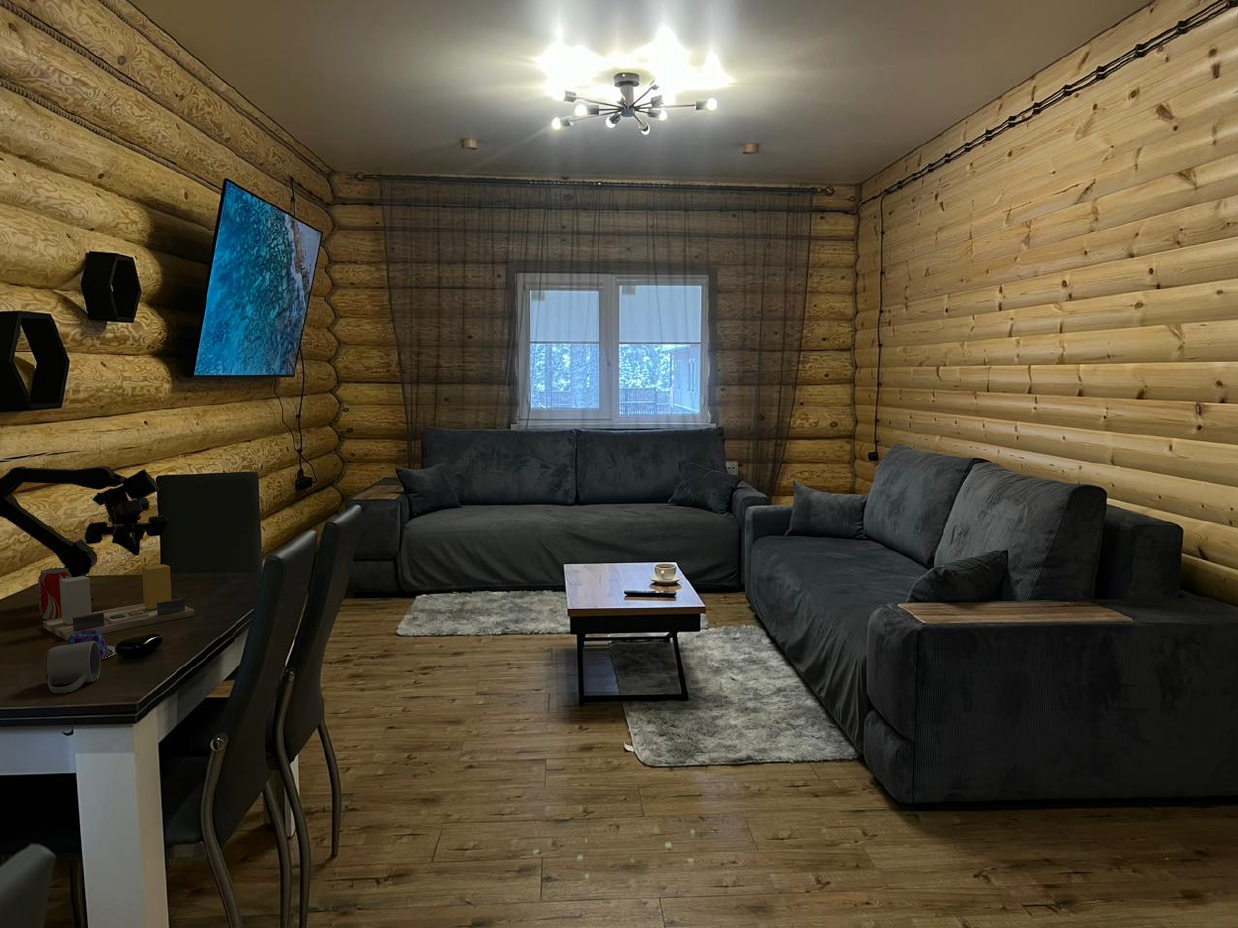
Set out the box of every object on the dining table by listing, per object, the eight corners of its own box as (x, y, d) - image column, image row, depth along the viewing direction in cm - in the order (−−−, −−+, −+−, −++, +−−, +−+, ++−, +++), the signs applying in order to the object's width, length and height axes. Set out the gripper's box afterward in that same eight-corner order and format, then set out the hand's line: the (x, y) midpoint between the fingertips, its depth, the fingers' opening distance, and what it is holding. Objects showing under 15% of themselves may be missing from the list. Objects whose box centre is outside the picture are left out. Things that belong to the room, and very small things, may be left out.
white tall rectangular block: (61, 621, 203) (59, 579, 202) (85, 617, 206) (83, 575, 205) (67, 624, 200) (65, 581, 199) (91, 620, 204) (89, 578, 203)
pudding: (55, 670, 174) (53, 645, 174) (50, 655, 184) (49, 631, 183) (123, 659, 181) (121, 634, 181) (115, 645, 191) (114, 622, 190)
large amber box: (144, 606, 216) (142, 567, 215) (165, 603, 220) (163, 564, 219) (150, 609, 214) (148, 569, 213) (171, 605, 217) (169, 566, 216)
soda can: (57, 622, 208) (54, 573, 207) (32, 621, 210) (29, 572, 209) (81, 615, 215) (78, 567, 214) (57, 613, 217) (54, 566, 216)
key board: (43, 627, 204) (41, 608, 204) (167, 604, 225) (166, 587, 225) (66, 640, 194) (65, 620, 193) (194, 615, 215) (193, 597, 214)
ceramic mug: (54, 678, 169) (52, 639, 168) (102, 673, 171) (100, 636, 170) (37, 697, 159) (34, 657, 158) (88, 692, 161) (85, 652, 160)
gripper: (86, 491, 218) (104, 540, 212) (164, 485, 232) (183, 530, 226) (76, 519, 224) (94, 567, 218) (153, 511, 238) (172, 556, 232)
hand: (137, 554), depth 223 cm, fingers closed
